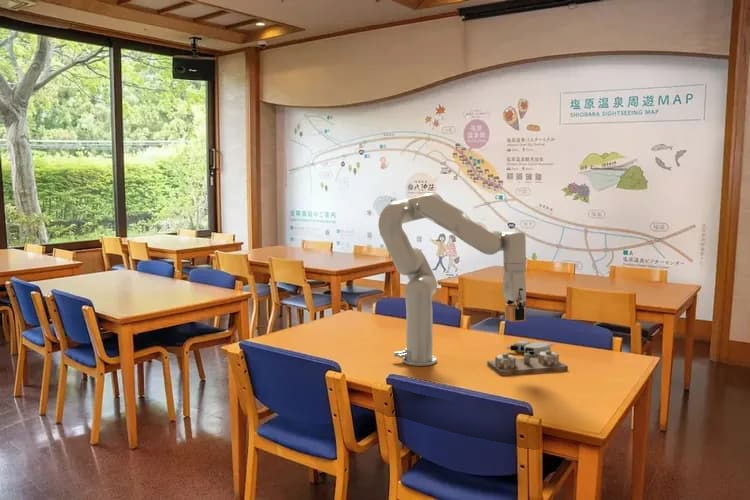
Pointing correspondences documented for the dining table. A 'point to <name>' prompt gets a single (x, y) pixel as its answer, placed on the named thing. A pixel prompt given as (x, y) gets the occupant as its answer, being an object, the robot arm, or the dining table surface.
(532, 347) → the robot toy
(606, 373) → the dining table surface
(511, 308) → the orange gear
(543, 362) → the gear board
